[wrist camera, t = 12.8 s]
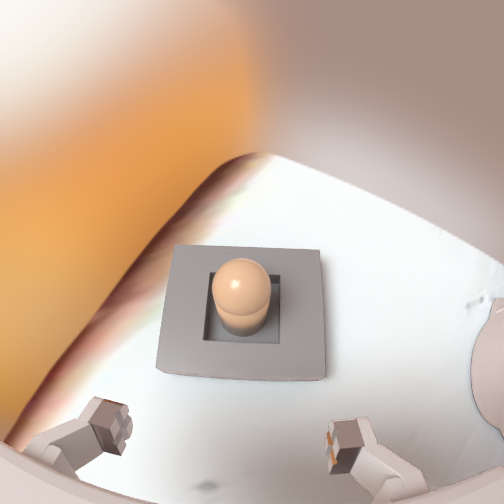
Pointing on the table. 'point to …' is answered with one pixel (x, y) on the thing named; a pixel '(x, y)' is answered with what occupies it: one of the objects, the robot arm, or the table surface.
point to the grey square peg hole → (251, 347)
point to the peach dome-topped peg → (242, 296)
